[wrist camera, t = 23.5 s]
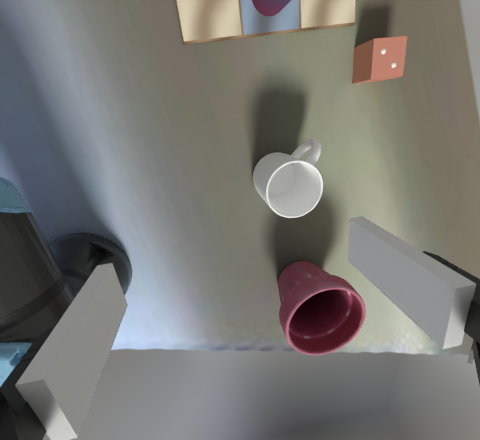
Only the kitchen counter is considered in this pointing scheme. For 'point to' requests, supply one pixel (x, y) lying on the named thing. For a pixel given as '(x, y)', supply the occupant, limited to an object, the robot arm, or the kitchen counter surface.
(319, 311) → the plant pot
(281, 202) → the mug
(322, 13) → the multicoloured flat piece
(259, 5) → the cup
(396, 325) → the kitchen counter surface
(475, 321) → the robot arm
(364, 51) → the die
